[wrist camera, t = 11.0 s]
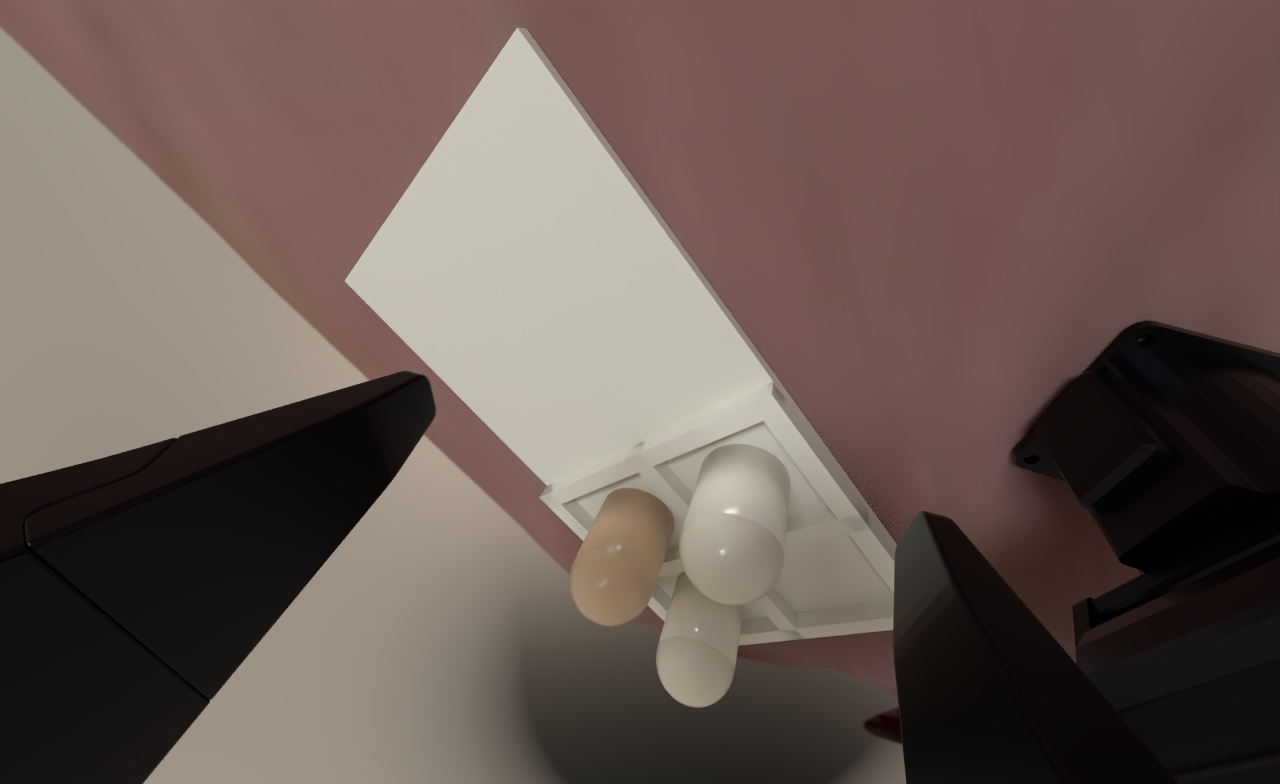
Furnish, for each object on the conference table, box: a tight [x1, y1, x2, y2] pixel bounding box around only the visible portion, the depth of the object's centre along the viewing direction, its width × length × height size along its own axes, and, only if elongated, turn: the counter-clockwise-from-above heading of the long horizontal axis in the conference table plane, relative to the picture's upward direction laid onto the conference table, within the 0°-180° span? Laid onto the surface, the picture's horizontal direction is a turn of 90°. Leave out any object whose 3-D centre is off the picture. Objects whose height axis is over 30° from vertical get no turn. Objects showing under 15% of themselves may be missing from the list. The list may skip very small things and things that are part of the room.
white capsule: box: [656, 571, 744, 707], centre depth 27 cm, size 4×4×7 cm
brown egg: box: [569, 488, 674, 626], centre depth 25 cm, size 4×4×7 cm
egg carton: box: [345, 28, 897, 646], centre depth 24 cm, size 32×16×2 cm, turn 40°
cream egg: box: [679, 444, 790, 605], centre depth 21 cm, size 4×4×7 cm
